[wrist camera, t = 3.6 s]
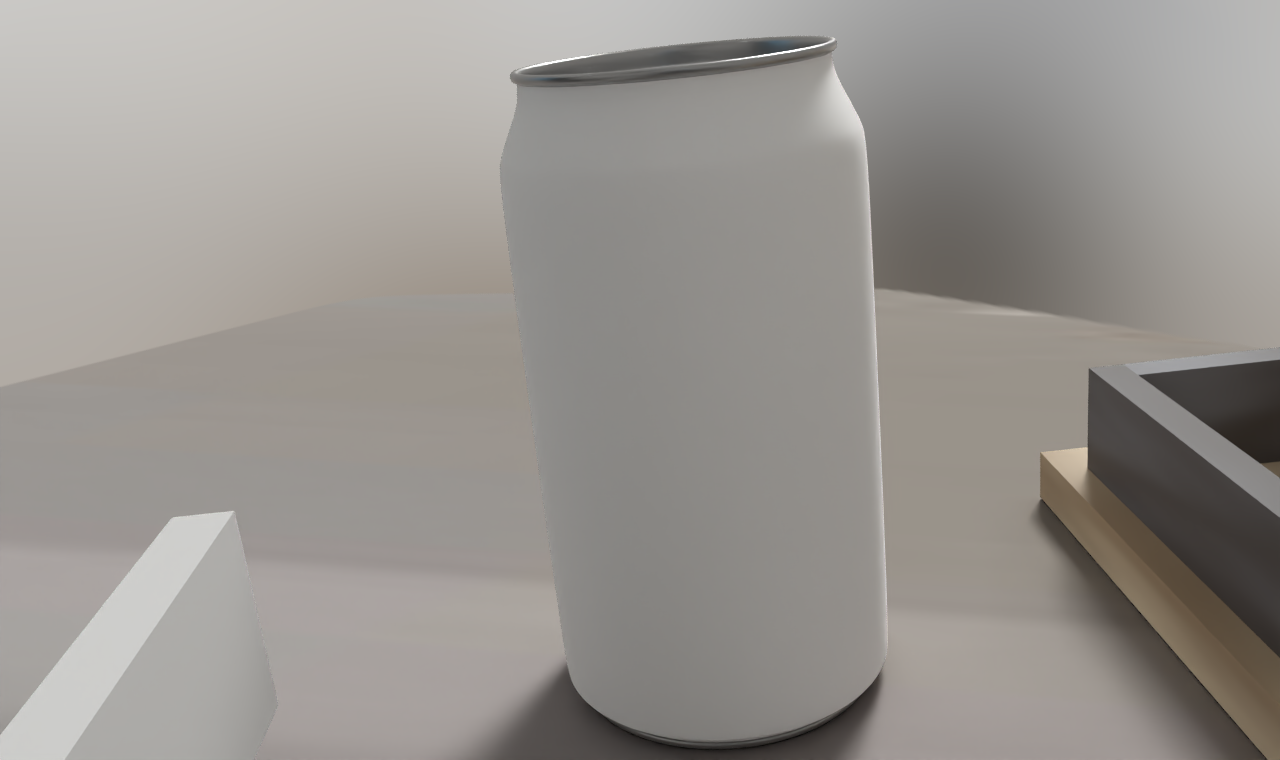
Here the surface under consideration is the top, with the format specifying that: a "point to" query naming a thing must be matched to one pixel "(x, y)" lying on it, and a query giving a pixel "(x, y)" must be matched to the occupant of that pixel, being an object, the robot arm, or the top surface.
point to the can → (703, 382)
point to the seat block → (1189, 515)
